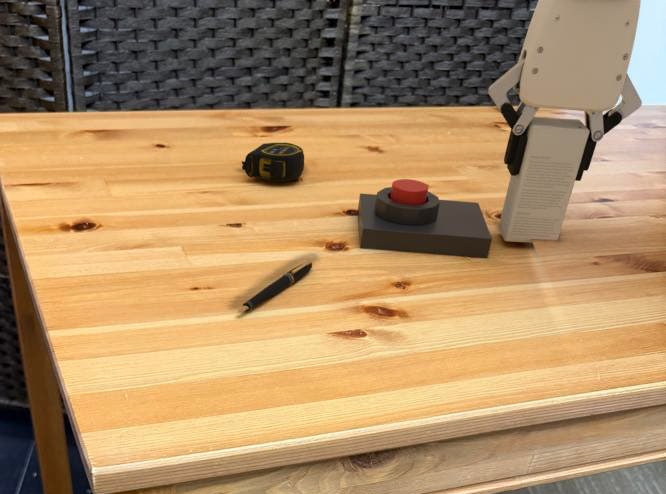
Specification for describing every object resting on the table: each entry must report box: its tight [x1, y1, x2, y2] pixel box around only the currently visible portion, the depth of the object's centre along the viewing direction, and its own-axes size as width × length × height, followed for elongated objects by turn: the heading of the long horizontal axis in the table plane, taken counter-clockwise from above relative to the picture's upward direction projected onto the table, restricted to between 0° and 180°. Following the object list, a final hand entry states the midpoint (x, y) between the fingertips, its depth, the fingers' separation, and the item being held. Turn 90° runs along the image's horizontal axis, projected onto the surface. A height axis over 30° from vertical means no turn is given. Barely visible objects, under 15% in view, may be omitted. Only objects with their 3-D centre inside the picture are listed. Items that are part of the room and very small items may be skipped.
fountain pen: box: [236, 260, 313, 314], centre depth 79 cm, size 14×1×2 cm, turn 148°
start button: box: [390, 178, 429, 205], centre depth 90 cm, size 4×4×2 cm
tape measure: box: [241, 142, 305, 183], centre depth 103 cm, size 7×7×4 cm
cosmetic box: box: [498, 116, 590, 244], centre depth 89 cm, size 6×4×12 cm
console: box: [357, 186, 493, 259], centre depth 92 cm, size 14×11×4 cm
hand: (543, 172), depth 88 cm, fingers closed on cosmetic box, 6 cm apart
